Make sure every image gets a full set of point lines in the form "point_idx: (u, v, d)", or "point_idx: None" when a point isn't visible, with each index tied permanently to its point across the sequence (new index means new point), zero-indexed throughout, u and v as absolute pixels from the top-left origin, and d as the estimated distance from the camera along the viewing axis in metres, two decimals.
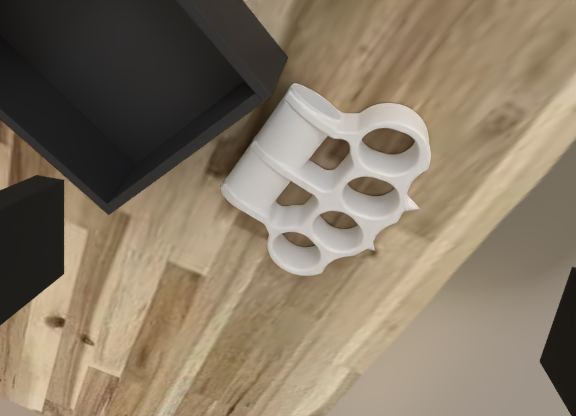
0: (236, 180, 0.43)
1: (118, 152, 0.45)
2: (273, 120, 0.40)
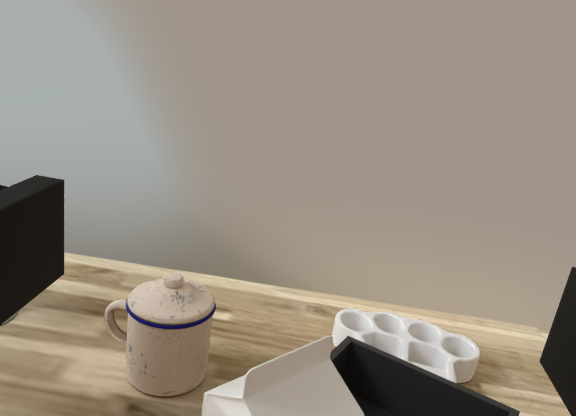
0: None
1: None
2: None
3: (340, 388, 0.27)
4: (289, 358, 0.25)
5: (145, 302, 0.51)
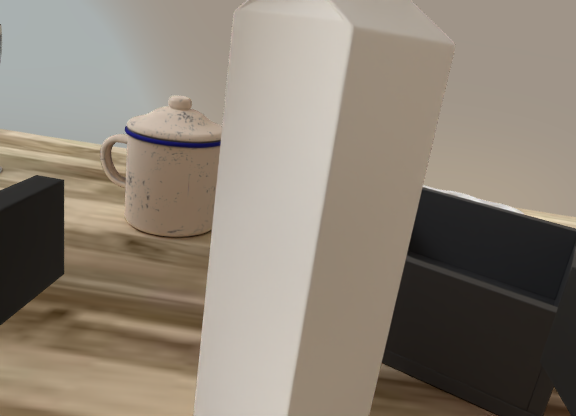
0: None
1: (554, 303, 0.40)
2: None
3: (420, 14, 0.20)
4: None
5: (147, 121, 0.44)
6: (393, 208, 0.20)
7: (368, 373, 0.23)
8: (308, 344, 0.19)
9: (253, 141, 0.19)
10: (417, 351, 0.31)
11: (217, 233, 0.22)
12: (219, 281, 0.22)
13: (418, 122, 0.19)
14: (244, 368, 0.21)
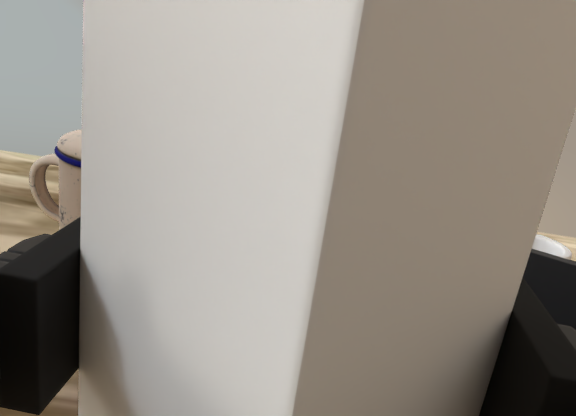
0: None
1: None
2: None
3: None
4: None
5: None
6: (455, 376, 0.09)
7: None
8: None
9: (131, 234, 0.08)
10: None
11: (85, 401, 0.11)
12: None
13: (520, 190, 0.08)
14: None
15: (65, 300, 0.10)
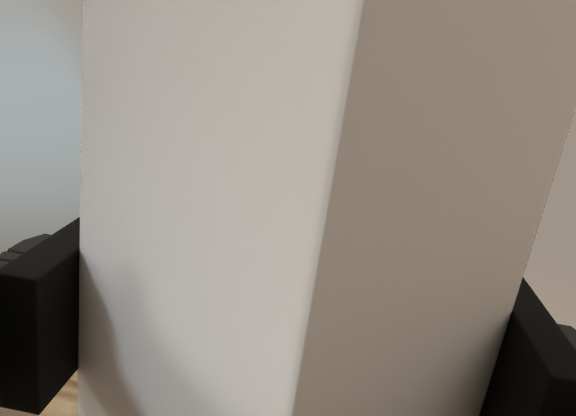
0: None
1: None
2: None
3: None
4: None
5: None
6: (455, 377, 0.09)
7: None
8: None
9: (131, 234, 0.08)
10: None
11: (84, 402, 0.11)
12: None
13: (520, 190, 0.08)
14: None
15: (65, 299, 0.10)
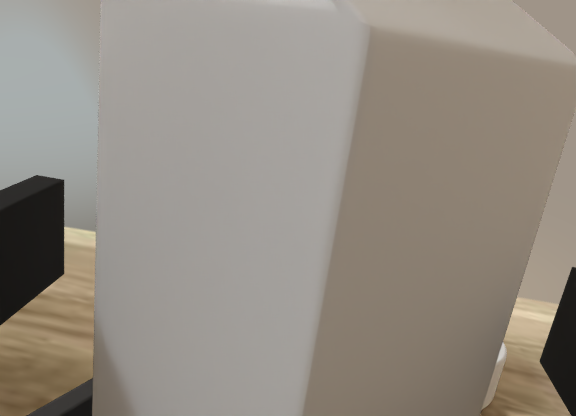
0: None
1: None
2: None
3: (506, 0, 0.09)
4: None
5: None
6: (447, 410, 0.09)
7: None
8: None
9: (145, 279, 0.09)
10: None
11: None
12: None
13: (507, 238, 0.09)
14: None
15: None
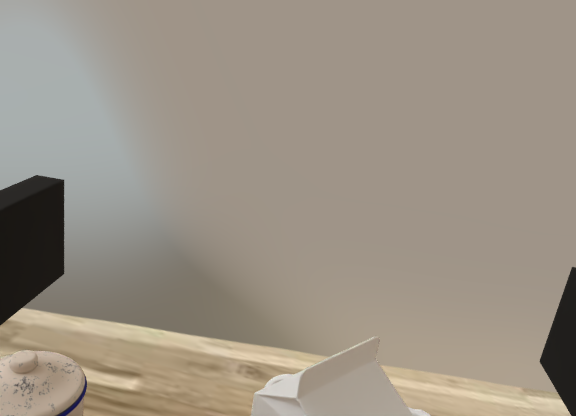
0: None
1: None
2: None
3: (387, 389, 0.27)
4: (340, 358, 0.26)
5: None
6: None
7: None
8: None
9: None
10: None
11: None
12: None
13: None
14: None
15: None
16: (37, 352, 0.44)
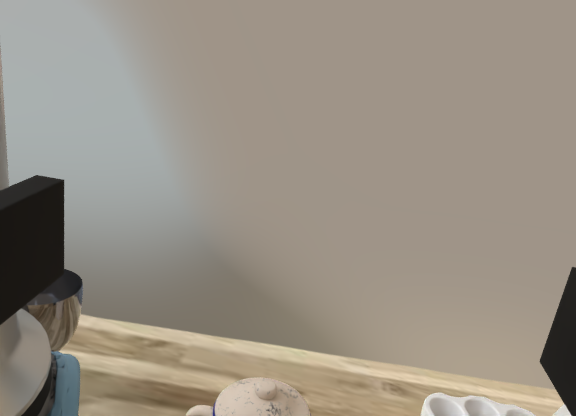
0: None
1: None
2: None
3: None
4: None
5: None
6: None
7: None
8: None
9: None
10: None
11: None
12: None
13: None
14: None
15: None
16: (258, 379, 0.51)
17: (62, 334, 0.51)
